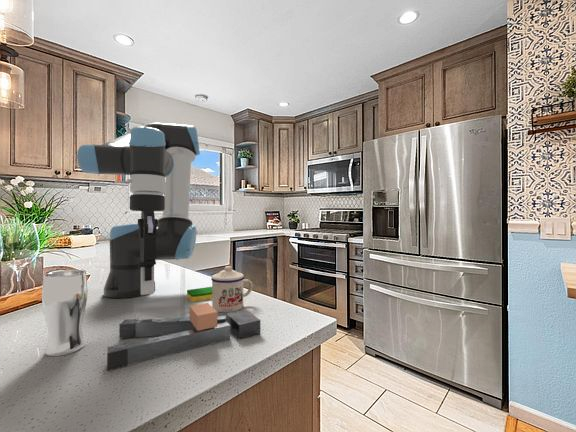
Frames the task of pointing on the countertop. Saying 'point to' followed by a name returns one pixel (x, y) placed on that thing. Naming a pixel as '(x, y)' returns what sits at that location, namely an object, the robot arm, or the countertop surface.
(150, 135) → the robot arm
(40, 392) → the countertop surface
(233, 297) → the teacup with lid
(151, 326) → the tong arm
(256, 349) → the countertop surface
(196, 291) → the dish sponge
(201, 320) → the peach rectangular block
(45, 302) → the beer glass
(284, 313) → the countertop surface
